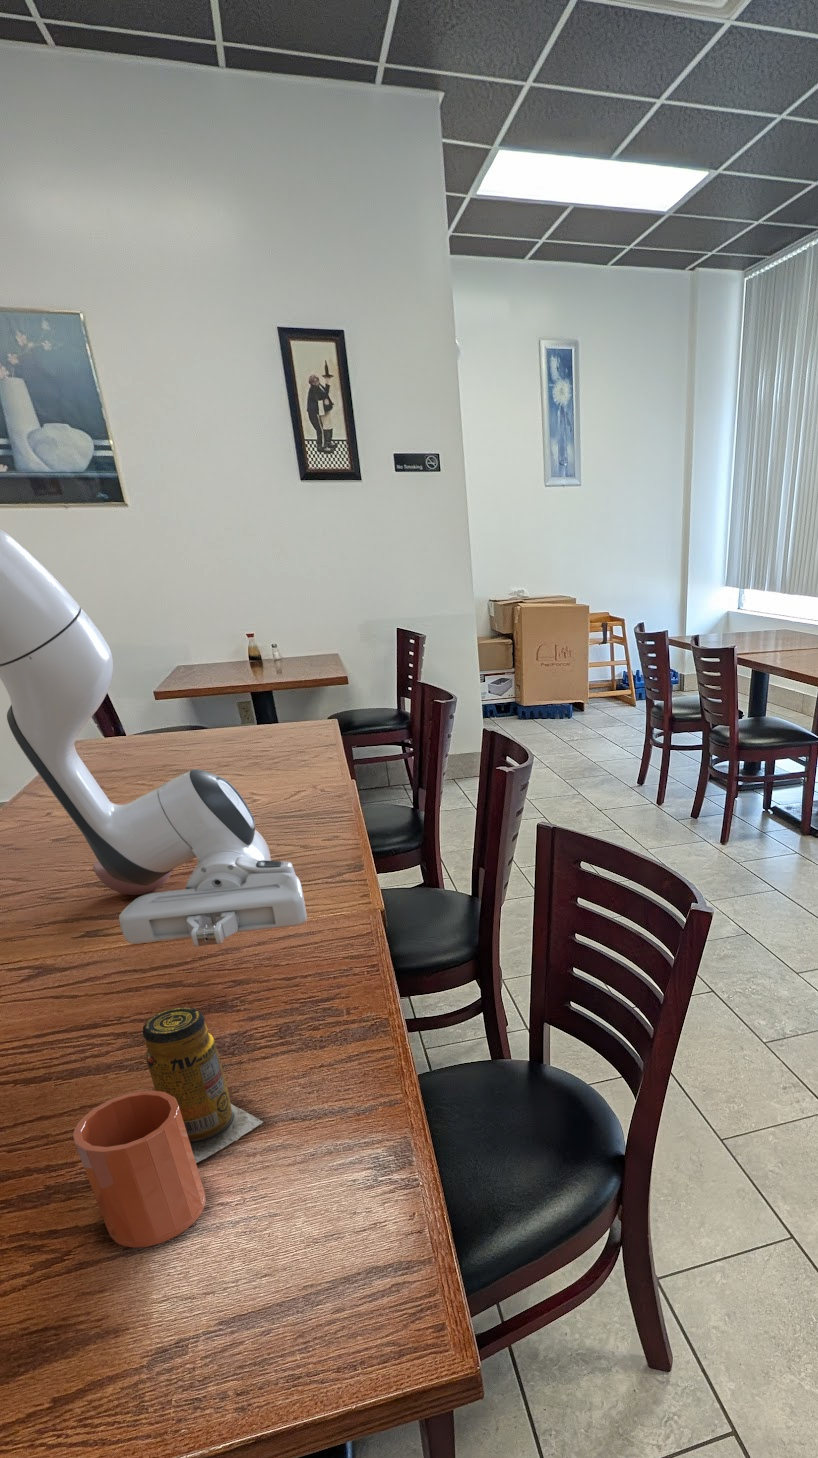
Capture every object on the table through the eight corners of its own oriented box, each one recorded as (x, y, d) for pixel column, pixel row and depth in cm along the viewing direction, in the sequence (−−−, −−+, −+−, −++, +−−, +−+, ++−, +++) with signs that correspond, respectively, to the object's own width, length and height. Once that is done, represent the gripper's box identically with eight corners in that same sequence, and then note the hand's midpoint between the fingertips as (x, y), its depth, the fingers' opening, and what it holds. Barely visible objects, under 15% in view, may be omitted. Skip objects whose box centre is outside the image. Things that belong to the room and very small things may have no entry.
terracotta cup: (97, 1255, 66) (59, 1158, 61) (122, 1190, 73) (89, 1098, 68) (197, 1237, 67) (167, 1141, 63) (212, 1175, 74) (186, 1084, 70)
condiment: (213, 1094, 85) (186, 994, 80) (263, 1123, 80) (238, 1019, 75) (147, 1133, 80) (112, 1028, 74) (196, 1166, 75) (163, 1057, 70)
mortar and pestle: (108, 885, 140) (88, 820, 135) (183, 874, 143) (167, 810, 138) (98, 911, 129) (76, 842, 124) (179, 899, 133) (162, 831, 128)
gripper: (129, 877, 99) (96, 924, 87) (304, 860, 102) (296, 902, 90) (142, 925, 102) (112, 976, 89) (312, 906, 105) (305, 953, 93)
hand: (206, 939), depth 90 cm, fingers closed
